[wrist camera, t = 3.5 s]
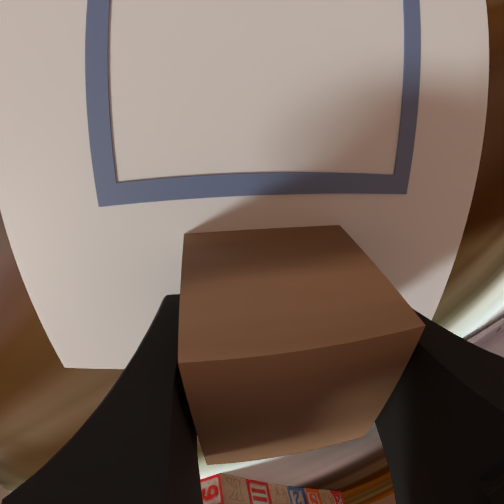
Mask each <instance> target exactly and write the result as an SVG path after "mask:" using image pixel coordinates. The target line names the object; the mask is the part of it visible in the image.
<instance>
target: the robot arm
mask: <svg viewBox="0 0 504 504" xmlns="http://www.w3.org/2000/svg"><path fill="white" fill-rule="evenodd" d="M179 305H180V294H172V295H166V296H165V297H164V298H163V300H162V303H161V305H160V307H159V309H158V311H157V313H156V315H155V317H154V319H153V321H152V323H151V325H150V327H149V329H148V331H147V333H146V334H145V336H144V338H143V340H142V341H141V343H140V345H139V347H138V348H137V350H136V352H135V354H134V355H133V357H132V358H131V360H130V361H129V363H128V365H127V366H126V368H125V369H124V371H123V372H122V374H121V376H120V377H119V379H118V380H117V381H116V383H115V384H114V386H113V387H112V389H111V390H110V391H109V393H108V394H107V396H106V397H105V398H104V400H103V401H102V402H101V403H100V405H99V406H98V407H97V409H96V410H95V411H94V412H93V414H92V415H91V416H90V417H89V418H88V420H87V421H86V422H85V423H84V424H83V426H82V427H81V428H80V429H79V430H78V431H77V432H76V434H75V435H74V436H73V437H72V438H71V439H70V440H69V441H68V442H67V443H66V444H65V445H64V446H63V447H62V448H61V449H60V450H59V451H58V452H57V453H56V454H55V455H54V456H53V457H52V458H51V459H50V460H49V461H48V462H47V463H46V464H45V465H44V466H43V467H42V468H41V469H40V470H38V471H37V472H36V473H35V474H34V475H33V476H31V477H30V478H29V479H28V480H26V481H25V482H24V483H23V484H21V485H20V486H19V487H18V488H16V489H15V490H14V491H13V492H11V493H10V494H9V495H8V496H6V497H5V498H4V499H3V500H2V503H1V504H203V497H202V490H201V483H200V474H199V466H198V456H197V432H196V428H195V425H194V422H193V418H192V415H191V411H190V408H189V404H188V400H187V397H186V393H185V389H184V385H183V381H182V378H181V374H180V370H179V365H178V332H179ZM412 309H413V308H412ZM413 310H414V309H413ZM414 311H415V313H416V314H417V315H418V316H419V318H420V319H421V320H422V322H423V323H424V324H425V325H426V326H425V328H424V330H423V332H422V335H421V337H420V339H419V341H418V343H417V345H416V347H415V349H414V352H413V354H412V356H411V358H410V360H409V362H408V364H407V366H406V367H405V369H404V371H403V373H402V375H401V377H400V379H399V381H398V382H397V384H396V386H395V388H394V390H393V391H392V393H391V395H390V397H389V398H388V400H387V402H386V404H385V405H384V407H383V409H382V410H381V412H380V414H379V415H378V417H377V418H376V420H375V424H376V427H377V430H378V433H379V436H380V439H381V442H382V445H383V448H384V452H385V455H386V459H387V463H388V466H389V470H390V474H391V479H392V484H393V488H394V493H395V499H396V504H504V317H503V318H501V319H500V320H498V321H497V322H495V323H494V324H492V325H491V326H489V327H488V328H486V329H485V330H483V331H481V332H480V333H478V334H477V335H475V336H473V337H472V338H470V339H468V340H465V339H463V338H461V337H459V336H457V335H455V334H453V333H452V332H450V331H448V330H446V329H445V328H443V327H441V326H440V325H438V324H436V323H435V322H433V321H431V320H430V319H428V318H427V317H425V316H423V315H422V314H420V313H419V312H417V311H416V310H414Z"/></svg>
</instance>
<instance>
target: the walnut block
mask: <svg viewBox="0 0 504 504" xmlns="http://www.w3.org/2000/svg"><path fill="white" fill-rule="evenodd" d="M425 326H426V325H425V324H424V323H423V322H422V320H421V319H420V318H419V316H418V315H417V314H416V313H415V311H414V310H413V309H412V308H411V306H410V305H409V304H408V303H407V302H406V300H405V299H404V298H403V297H402V295H401V294H400V293H399V292H398V291H397V289H396V288H395V287H394V286H393V285H392V283H391V282H390V281H389V280H388V279H387V278H386V276H385V275H384V274H383V273H382V272H381V271H380V269H379V268H378V267H377V266H376V265H375V264H374V262H373V261H372V260H371V259H370V258H369V257H368V256H367V255H366V253H365V252H364V251H363V250H362V249H361V248H360V247H359V246H358V244H357V243H356V242H355V241H354V240H353V239H352V238H351V237H350V236H349V235H348V234H347V232H346V231H345V230H344V229H343V228H342V227H341V226H340V225H329V226H308V227H288V228H269V229H252V230H235V231H219V232H204V233H189V234H184V239H183V253H182V267H181V284H180V305H179V332H178V365H179V370H180V374H181V378H182V381H183V385H184V389H185V393H186V397H187V400H188V404H189V408H190V411H191V415H192V418H193V422H194V425H195V428H196V432H197V435H198V438H199V442H200V445H201V448H202V451H203V454H204V457H205V460H206V463H207V465H212V464H225V463H236V462H245V461H253V460H260V459H267V458H273V457H279V456H285V455H291V454H296V453H301V452H306V451H311V450H315V449H319V448H324V447H328V446H332V445H336V444H340V443H343V442H347V441H351V440H354V439H358V438H361V437H364V436H365V435H366V434H367V432H368V431H369V429H370V428H371V426H372V425H373V423H374V422H375V420H376V418H377V417H378V415H379V414H380V412H381V410H382V409H383V407H384V405H385V404H386V402H387V400H388V398H389V397H390V395H391V393H392V391H393V390H394V388H395V386H396V384H397V382H398V381H399V379H400V377H401V375H402V373H403V371H404V369H405V367H406V366H407V364H408V362H409V360H410V358H411V356H412V354H413V352H414V349H415V347H416V345H417V343H418V341H419V339H420V337H421V335H422V332H423V330H424V328H425Z"/></svg>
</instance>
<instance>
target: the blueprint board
mask: <svg viewBox="0 0 504 504" xmlns="http://www.w3.org/2000/svg"><path fill="white" fill-rule="evenodd" d="M488 83H489V36H488V19H487V8H486V0H0V210H1V214H2V218H3V221H4V225H5V228H6V232H7V235H8V238H9V242H10V245H11V248H12V251H13V254H14V257H15V260H16V263H17V265H18V268H19V271H20V273H21V276H22V279H23V281H24V284H25V286H26V289H27V291H28V294H29V296H30V299H31V301H32V303H33V306H34V308H35V310H36V312H37V314H38V317H39V319H40V321H41V323H42V325H43V327H44V329H45V331H46V333H47V335H48V337H49V339H50V341H51V343H52V345H53V347H54V349H55V351H56V353H57V355H58V356H59V358H60V360H61V362H62V364H63V365H64V367H67V368H92V369H125V368H126V366H127V365H128V363H129V361H130V360H131V358H132V357H133V355H134V354H135V352H136V350H137V348H138V347H139V345H140V343H141V341H142V340H143V338H144V336H145V334H146V333H147V331H148V329H149V327H150V325H151V323H152V321H153V319H154V317H155V315H156V313H157V311H158V309H159V307H160V305H161V303H162V300H163V298H164V297H165V296H166V295H172V294H180V284H181V267H182V253H183V239H184V234H189V233H204V232H219V231H235V230H252V229H269V228H288V227H308V226H329V225H340V226H341V227H342V228H343V229H344V230H345V231H346V232H347V234H348V235H349V236H350V237H351V238H352V239H353V240H354V241H355V242H356V243H357V244H358V246H359V247H360V248H361V249H362V250H363V251H364V252H365V253H366V255H367V256H368V257H369V258H370V259H371V260H372V261H373V262H374V264H375V265H376V266H377V267H378V268H379V269H380V271H381V272H382V273H383V274H384V275H385V276H386V278H387V279H388V280H389V281H390V282H391V283H392V285H393V286H394V287H395V288H396V289H397V291H398V292H399V293H400V294H401V295H402V297H403V298H404V299H405V300H406V302H407V303H408V304H409V305H410V306H411V308H413V309H414V310H416V311H417V312H419V313H420V314H422V315H423V316H425V317H427V318H428V319H430V320H432V318H433V316H434V313H435V311H436V308H437V306H438V304H439V301H440V299H441V296H442V294H443V291H444V288H445V286H446V283H447V280H448V278H449V275H450V272H451V269H452V266H453V264H454V261H455V258H456V255H457V251H458V248H459V245H460V242H461V239H462V235H463V232H464V228H465V225H466V221H467V217H468V214H469V210H470V206H471V202H472V197H473V193H474V188H475V184H476V179H477V174H478V169H479V163H480V158H481V151H482V145H483V138H484V130H485V122H486V112H487V100H488Z"/></svg>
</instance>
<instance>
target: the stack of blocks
mask: <svg viewBox="0 0 504 504" xmlns="http://www.w3.org/2000/svg"><path fill="white" fill-rule="evenodd" d="M200 483H201V490H202V497H203V504H345V502H344V499H343V497H342V494H341V491H330V490H323V489H318V490H317V489H311V488H299V487H291V486H283V485H275V484H269V483H265V482H259V481H254V480H248V479H244V478H239V477H235V476H230V475H226V474H222V473H219V474H216V475H213V476H210V477H207V478H204V479H201V480H200Z"/></svg>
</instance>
